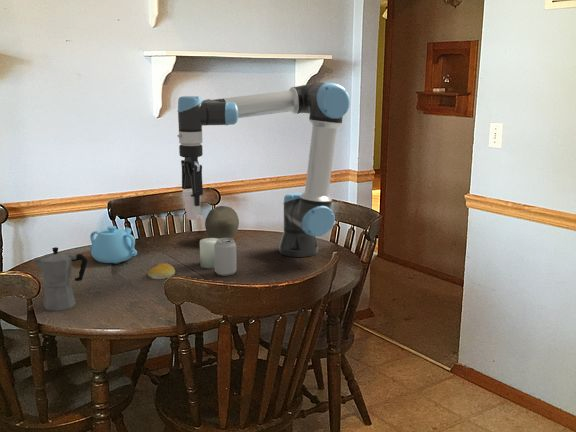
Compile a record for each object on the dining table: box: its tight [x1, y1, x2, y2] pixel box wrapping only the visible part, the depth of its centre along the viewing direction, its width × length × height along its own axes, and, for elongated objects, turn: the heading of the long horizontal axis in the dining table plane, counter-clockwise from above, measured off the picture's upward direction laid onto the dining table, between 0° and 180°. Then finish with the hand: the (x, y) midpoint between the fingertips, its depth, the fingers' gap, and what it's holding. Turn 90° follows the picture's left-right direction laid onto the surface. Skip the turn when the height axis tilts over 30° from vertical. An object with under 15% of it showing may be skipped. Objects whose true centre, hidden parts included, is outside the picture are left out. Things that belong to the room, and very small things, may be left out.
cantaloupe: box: [204, 205, 240, 239], centre depth 254 cm, size 14×14×15 cm
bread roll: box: [147, 262, 176, 280], centre depth 214 cm, size 8×9×4 cm
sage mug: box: [199, 237, 218, 269], centre depth 226 cm, size 10×8×9 cm
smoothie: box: [182, 189, 202, 221], centre depth 210 cm, size 6×6×14 cm
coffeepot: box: [32, 247, 89, 312], centre depth 186 cm, size 15×9×18 cm, turn 101°
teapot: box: [89, 225, 138, 265], centre depth 233 cm, size 20×20×13 cm
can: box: [214, 238, 237, 277], centre depth 217 cm, size 8×8×12 cm
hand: (192, 212), depth 211 cm, fingers closed on smoothie, 6 cm apart
